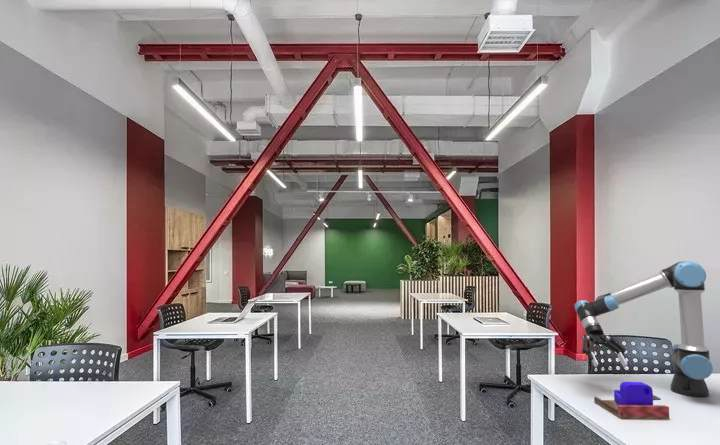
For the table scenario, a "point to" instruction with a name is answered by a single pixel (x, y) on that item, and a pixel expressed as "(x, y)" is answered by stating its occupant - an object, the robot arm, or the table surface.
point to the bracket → (634, 394)
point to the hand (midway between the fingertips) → (611, 365)
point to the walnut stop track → (634, 410)
